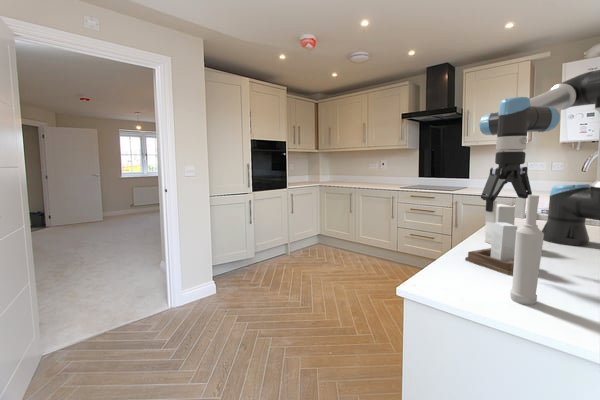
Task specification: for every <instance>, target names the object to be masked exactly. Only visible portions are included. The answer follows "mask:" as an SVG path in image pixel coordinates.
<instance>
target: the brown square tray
mask: <svg viewBox="0 0 600 400" xmlns="http://www.w3.org/2000/svg"><path fill="white" fill-rule="evenodd" d="M490 256H491V247H489V248H483V249H477V250H472V251H468V253H467V257H464V258H465V262H469V263H472V264H475V265H478V266H481V267H484V268H486V269H490V270H492V271H496V272H497V273H498V272H499V273H501V274H504V275H507V276H509V275H513V269H514V261H509V262H505V261H502V260H499V259H495V258H492V257H490Z"/></svg>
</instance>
